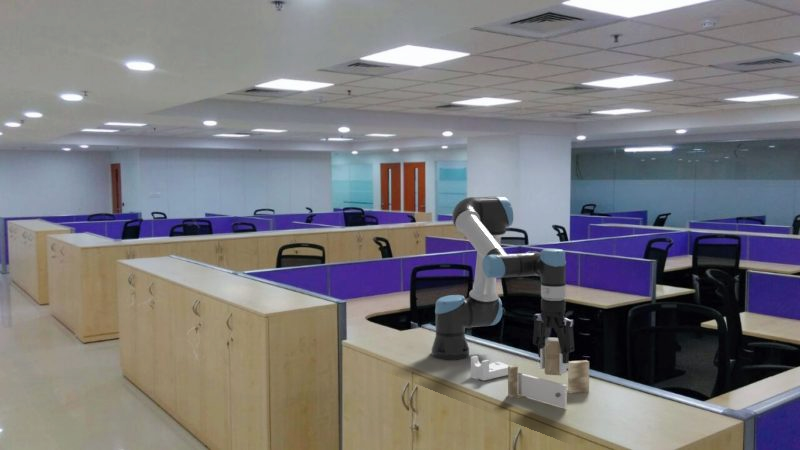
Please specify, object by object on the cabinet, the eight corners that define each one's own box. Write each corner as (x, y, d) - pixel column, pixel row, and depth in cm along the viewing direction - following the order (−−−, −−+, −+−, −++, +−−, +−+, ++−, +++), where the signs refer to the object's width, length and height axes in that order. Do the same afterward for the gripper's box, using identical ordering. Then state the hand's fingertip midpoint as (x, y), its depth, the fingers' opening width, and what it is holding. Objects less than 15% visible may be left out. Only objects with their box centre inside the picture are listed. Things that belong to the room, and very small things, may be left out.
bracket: (483, 383, 210) (483, 361, 209) (470, 377, 216) (470, 356, 215) (512, 376, 217) (511, 355, 216) (499, 371, 223) (498, 351, 222)
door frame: (510, 398, 194) (510, 367, 194) (507, 395, 197) (507, 364, 196) (589, 392, 198) (589, 362, 198) (585, 389, 201) (585, 359, 200)
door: (515, 395, 196) (515, 373, 195) (519, 393, 197) (519, 371, 197) (562, 408, 183) (562, 385, 183) (566, 406, 185) (567, 384, 184)
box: (545, 375, 190) (545, 340, 190) (544, 370, 195) (544, 336, 194) (562, 375, 189) (562, 340, 189) (561, 371, 194) (561, 337, 193)
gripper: (520, 296, 195) (520, 366, 197) (573, 304, 181) (573, 380, 182) (534, 292, 200) (534, 361, 202) (587, 300, 186) (587, 374, 187)
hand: (553, 370), depth 192 cm, fingers closed on box, 6 cm apart
